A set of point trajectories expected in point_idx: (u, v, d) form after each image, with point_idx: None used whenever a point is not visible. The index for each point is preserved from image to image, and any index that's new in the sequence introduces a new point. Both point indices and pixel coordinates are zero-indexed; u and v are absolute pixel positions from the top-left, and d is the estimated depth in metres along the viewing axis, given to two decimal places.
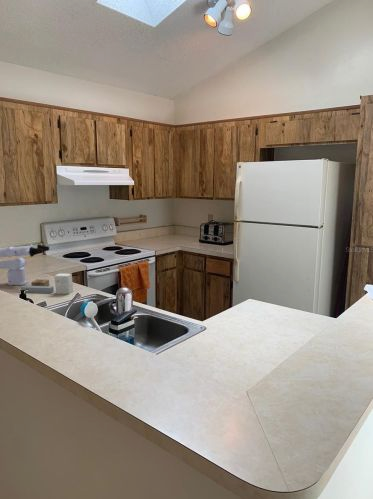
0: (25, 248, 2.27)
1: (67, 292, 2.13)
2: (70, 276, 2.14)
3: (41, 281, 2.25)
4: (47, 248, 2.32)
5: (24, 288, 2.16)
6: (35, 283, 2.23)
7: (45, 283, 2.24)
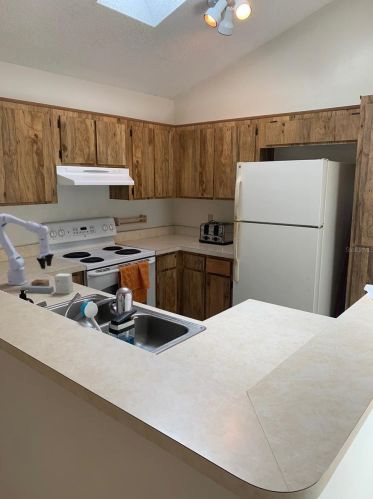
0: (45, 249, 2.29)
1: (67, 292, 2.13)
2: (70, 276, 2.14)
3: (41, 281, 2.25)
4: (48, 264, 2.36)
5: (24, 288, 2.16)
6: (35, 283, 2.23)
7: (45, 283, 2.24)
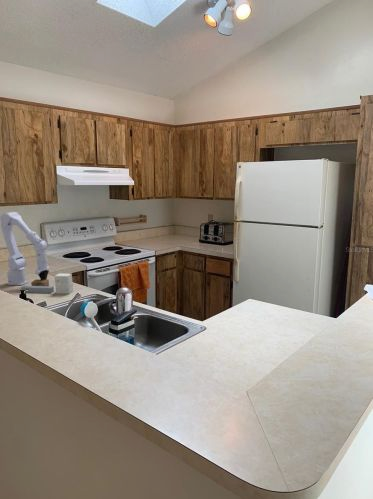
0: (43, 264, 2.26)
1: (67, 292, 2.13)
2: (70, 276, 2.14)
3: (41, 281, 2.25)
4: None
5: (24, 288, 2.16)
6: (35, 283, 2.23)
7: (45, 283, 2.24)
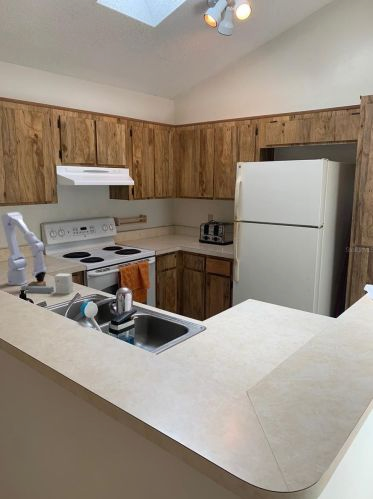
0: (40, 266, 2.22)
1: (67, 292, 2.13)
2: (70, 276, 2.14)
3: (38, 283, 2.21)
4: None
5: (24, 288, 2.16)
6: (31, 285, 2.19)
7: (42, 285, 2.20)
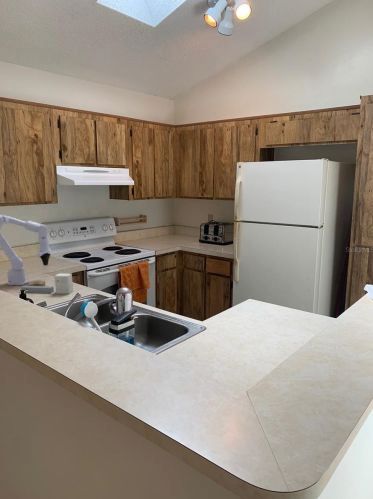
0: (45, 247, 2.34)
1: (67, 292, 2.13)
2: (70, 276, 2.14)
3: (38, 283, 2.21)
4: None
5: (24, 288, 2.16)
6: (32, 285, 2.19)
7: (43, 285, 2.21)
